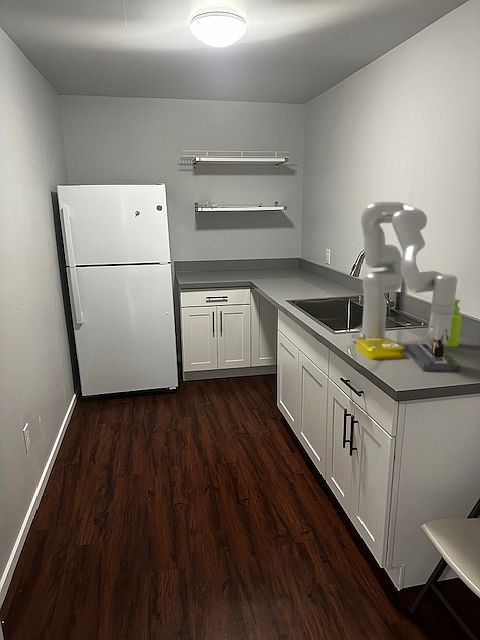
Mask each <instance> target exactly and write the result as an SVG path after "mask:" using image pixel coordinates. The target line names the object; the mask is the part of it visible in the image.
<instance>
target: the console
mask: <svg viewBox="0 0 480 640" xmlns="http://www.w3.org/2000/svg"><path fill="white" fill-rule="evenodd" d="M404 345H405V347H404V351H405V352H406V353H407V354H408V355H409V357H410V358H411V359H412V360H413V361H414V362H415V364H416V365H417V366H418V367H419V368H420V369H421V370H422V371H424V372H454V373H458V372H459V373H460V371H461V364H459V363H458V361H456V360H455V359H454V358H453V357H452V356H450V354H449V353H447V351H445V350H444V353H443V357H440V358H441V360H436V359H435V358H434V357H433V355H432V344H429V343H428V342H427V343H426V342H417V343H416V344H404Z"/></svg>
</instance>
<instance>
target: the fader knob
mask: <svg viewBox="0 0 480 640" xmlns="http://www.w3.org/2000/svg"><path fill="white" fill-rule="evenodd" d="M433 345H434V347H433V354H434V350H435V347H436V342H434V344H433ZM433 357H434V355H433ZM434 358H435V359H436V360H441V358H440V357H434Z"/></svg>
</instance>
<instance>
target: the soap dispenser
mask: <svg viewBox="0 0 480 640" xmlns="http://www.w3.org/2000/svg"><path fill="white" fill-rule="evenodd" d="M460 302H461V299H456V298H455V303H454V311H453V314H451V333H450V339H449V340H448V341H447V344H446V345H445V346H447V347H452V348H453V347H455V348H456V347H458V346H459V345H460V344H459V343H460V334H461V328H462V327H461V326H462V319H463V318H462V317H463V316H462V315H461V314H460V310H461V309H460V308H461V307H459V303H460Z"/></svg>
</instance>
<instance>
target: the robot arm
mask: <svg viewBox="0 0 480 640" xmlns="http://www.w3.org/2000/svg"><path fill="white" fill-rule="evenodd" d="M427 217H428V216H427V215H426V213H425V212H424V211H423V210H421V209H420V208H417V207H414V206H411V205H408V204H406V203H403V202H400V201H377V202H376V201H375V202H372V203H370V204H368V205H367V206H366V207H365V208H364V209H363V211H362V213H361V219H360V224H361V229H362V233H363V244H364V245H363V248H364V260H365V261H364V262H365V264H366V266H367V267H369V268H370V269H381V268H382V270H378V271H377V270H376V271H371V272H369V273H367V274H366V275H365V276H364V277H363V280H362V289H363V310H362V311H363V312H362V325H361V330H360V331H359V332H358V333H350V338H351V339H355V340H358V339H375V338H385V335H386V334H385V332H386V322H387V321H386V320H387V305H388V304H387V299H386V297H385V293H386V294H387V293H394V292H396V291H398V290H400V289H401V286H402V284H403V282H404V284H405V286H406V287H407V289H408V290H409V291H410V292H412V293H416V294H421V293H425V292H426V293H427V292H428V293H429V292H432V301H431V309H430V312H431V313H430V317H429V325H428V330H427V334H428V335H429V336H430V337H431V338H432V344H431V345H432V355H434V357H443V353H444V351H445V348H446V347H445V346H446V344H447V341H448V340H449V339H450V333H451V314H453V311H454V303H455V299H456V292H457V285H458V277H457V276H456V275H453V274H446V273H442V272H438V271H435V270H431V271H429V270H428V271H420V270H419V268H418V265H417V261H416V260H417V255H418V252H420V251H421V250H423V249H424V247H425V245H426V242H425V238H424V237H423V235H422V233H421V231H422V230H423V229H425V228H426V226H427V223H428V218H427ZM381 224H391V225H392V228H393V230H394V232H395V235H396V238H397V241H398V243H399V245H400V248H401V250H402V255H401V251H400V250H399V248H398V247H397V246H396V245H393V244H386V236H385V232H384V231H385V230H383V227H382V226H381ZM434 342H436V347H435V350H434V354H433V347H434Z"/></svg>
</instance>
